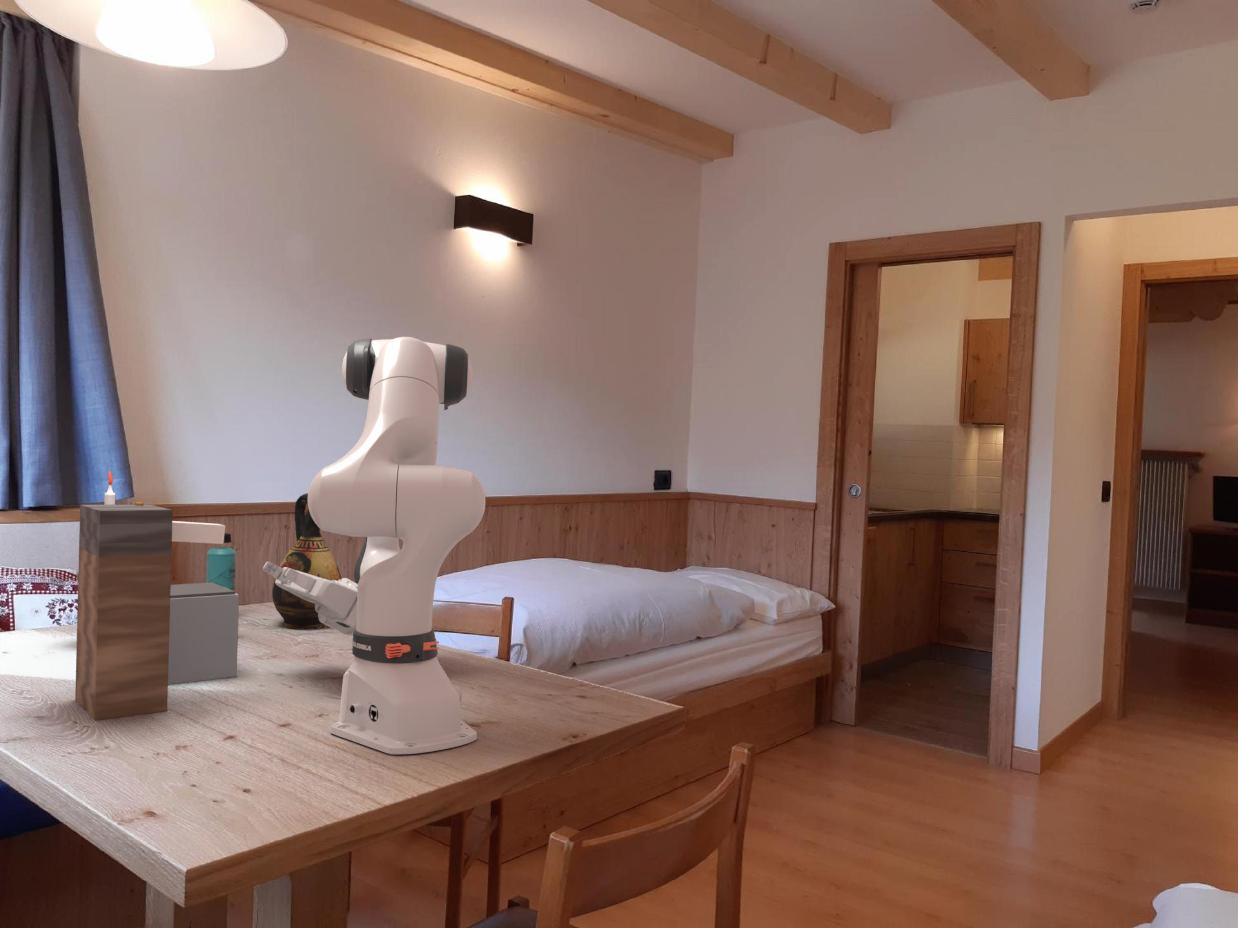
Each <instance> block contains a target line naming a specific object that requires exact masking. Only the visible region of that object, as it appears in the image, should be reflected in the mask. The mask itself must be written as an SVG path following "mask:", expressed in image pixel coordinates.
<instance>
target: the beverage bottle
mask: <svg viewBox="0 0 1238 928" xmlns="http://www.w3.org/2000/svg"><path fill="white" fill-rule="evenodd" d="M228 543H229V544H230V543H232V535H231V533H227V532H225V534H224V542H223V544H228ZM236 569H237V568H236V551H235V550H234V549H233V548H232V547H227V546H222V547H221V546H220V547H211V548H210V549H209V550H208V551H207V552H206V579H205V581H206V582H205V583H211V582H212V583H215V584H217V585H220V586H223V587H226V588H228V589H230V590H233V591H235V590H236V589H235V588H236V585H235V584H236V583H235V581H236V580H235V579H236V574H237V573H236Z"/></svg>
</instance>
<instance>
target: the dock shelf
mask: <svg viewBox="0 0 1238 928" xmlns="http://www.w3.org/2000/svg"><path fill="white" fill-rule="evenodd" d="M239 604H240V594H238V593H236V591H235V590H234V591H233V590H230V589H228V588H225V587H223V586H220V585H217V584H215V583H212V582H211V583H206V582H195V583H193V582H192V583H181V584H179V583H177V584H171V591H170V629H169V667H168V685H175V684H185V683H192V682H200V681H209V680H218V679H227V678H233V677H235V678H236V677H238V645H239V643H238V642H239V615H240V614H239V612H240V609H239V607H240V605H239Z"/></svg>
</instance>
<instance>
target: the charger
mask: <svg viewBox="0 0 1238 928" xmlns="http://www.w3.org/2000/svg"><path fill="white" fill-rule="evenodd" d="M225 533H226V525H224V524H221V523H213V522H212V523H211V522H209V523H208V522H196V521H195V522H193V521H192V522H191V521H179V520H177V521H176V520H172V542H175V543H176V542H179V543H194V544H195V543H200V544H215V545H216V544H217V545H218V544H219V545H224V543H223V542H224V534H225Z"/></svg>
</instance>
